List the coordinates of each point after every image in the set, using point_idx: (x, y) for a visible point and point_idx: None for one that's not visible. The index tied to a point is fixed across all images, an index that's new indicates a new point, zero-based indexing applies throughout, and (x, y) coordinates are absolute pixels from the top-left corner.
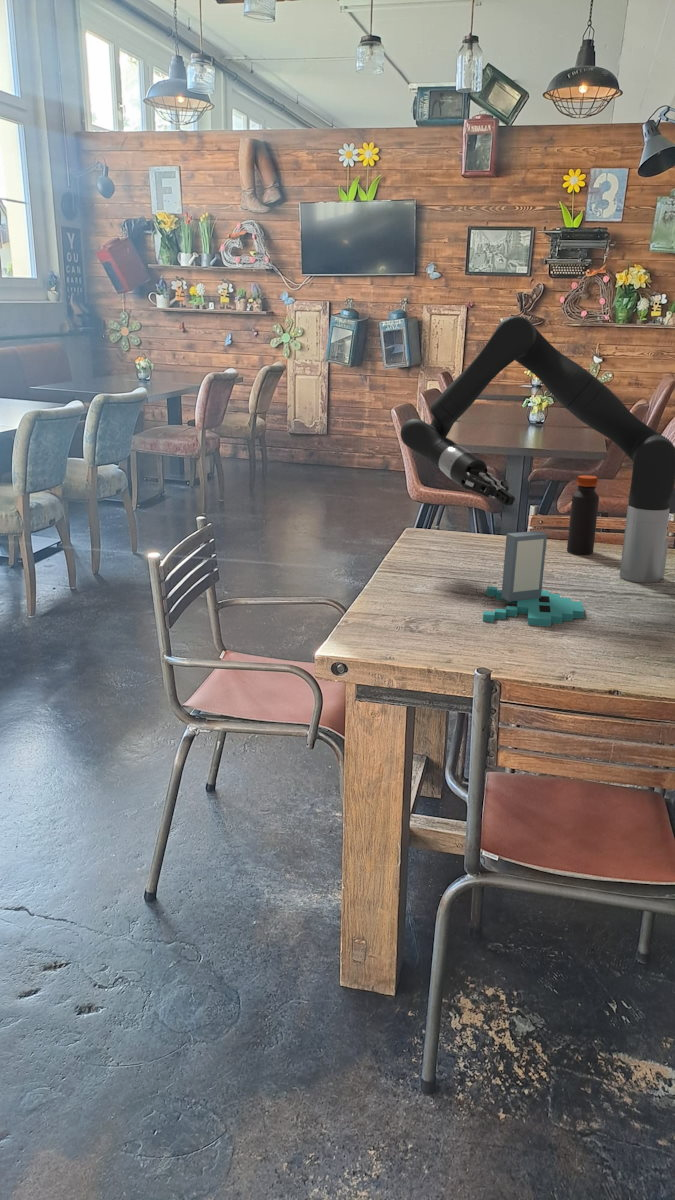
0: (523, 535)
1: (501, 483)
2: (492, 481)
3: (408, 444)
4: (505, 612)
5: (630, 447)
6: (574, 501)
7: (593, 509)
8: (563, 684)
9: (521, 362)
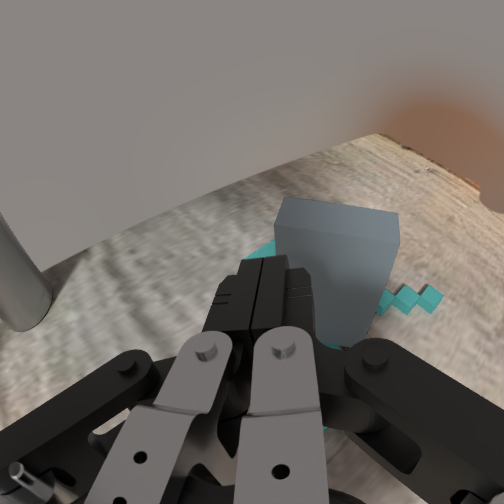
0: (363, 212)
1: (36, 474)
2: (275, 420)
3: None
4: (405, 285)
5: None
6: None
7: None
8: (436, 166)
9: None
